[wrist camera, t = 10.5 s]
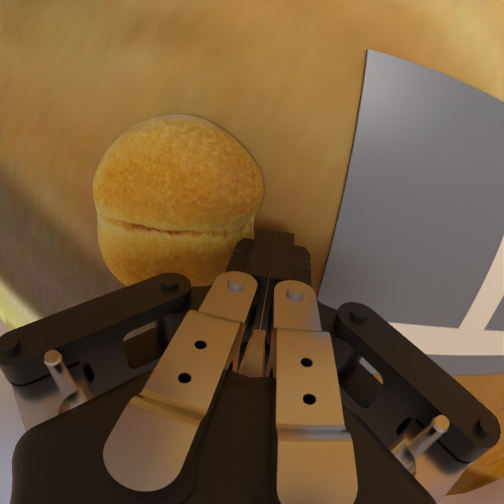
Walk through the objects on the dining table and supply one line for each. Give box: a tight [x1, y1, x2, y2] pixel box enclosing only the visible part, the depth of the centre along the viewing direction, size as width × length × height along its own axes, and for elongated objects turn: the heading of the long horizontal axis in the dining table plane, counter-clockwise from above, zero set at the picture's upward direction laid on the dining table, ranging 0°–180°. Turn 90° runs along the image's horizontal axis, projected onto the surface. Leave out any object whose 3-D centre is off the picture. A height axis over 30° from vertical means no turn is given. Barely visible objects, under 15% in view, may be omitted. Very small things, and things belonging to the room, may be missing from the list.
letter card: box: [317, 49, 504, 376], centre depth 13 cm, size 18×22×1 cm
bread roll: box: [92, 114, 264, 287], centre depth 13 cm, size 8×9×4 cm
